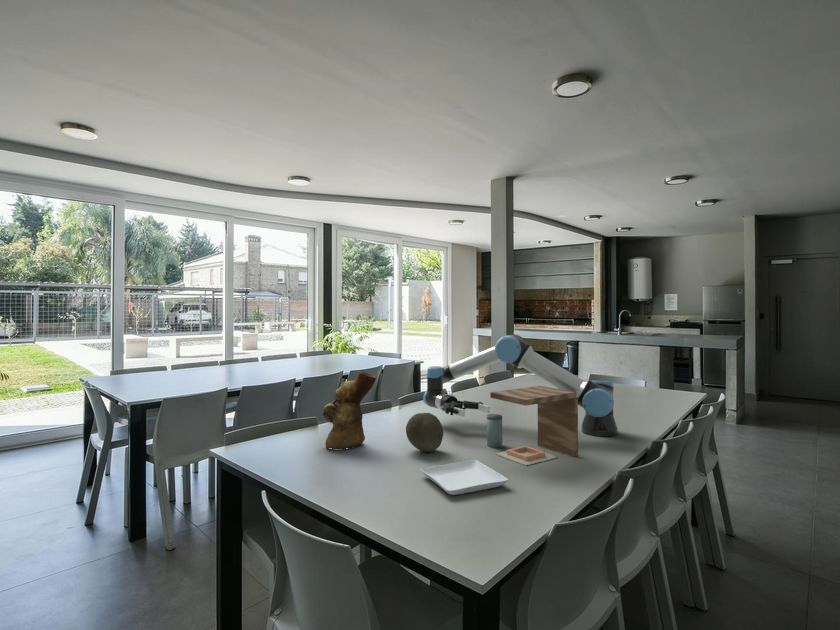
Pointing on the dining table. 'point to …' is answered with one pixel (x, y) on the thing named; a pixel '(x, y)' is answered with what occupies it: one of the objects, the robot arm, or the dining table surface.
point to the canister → (494, 430)
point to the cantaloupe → (424, 432)
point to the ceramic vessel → (348, 412)
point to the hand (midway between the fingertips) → (476, 411)
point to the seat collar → (525, 455)
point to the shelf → (550, 415)
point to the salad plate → (464, 477)
